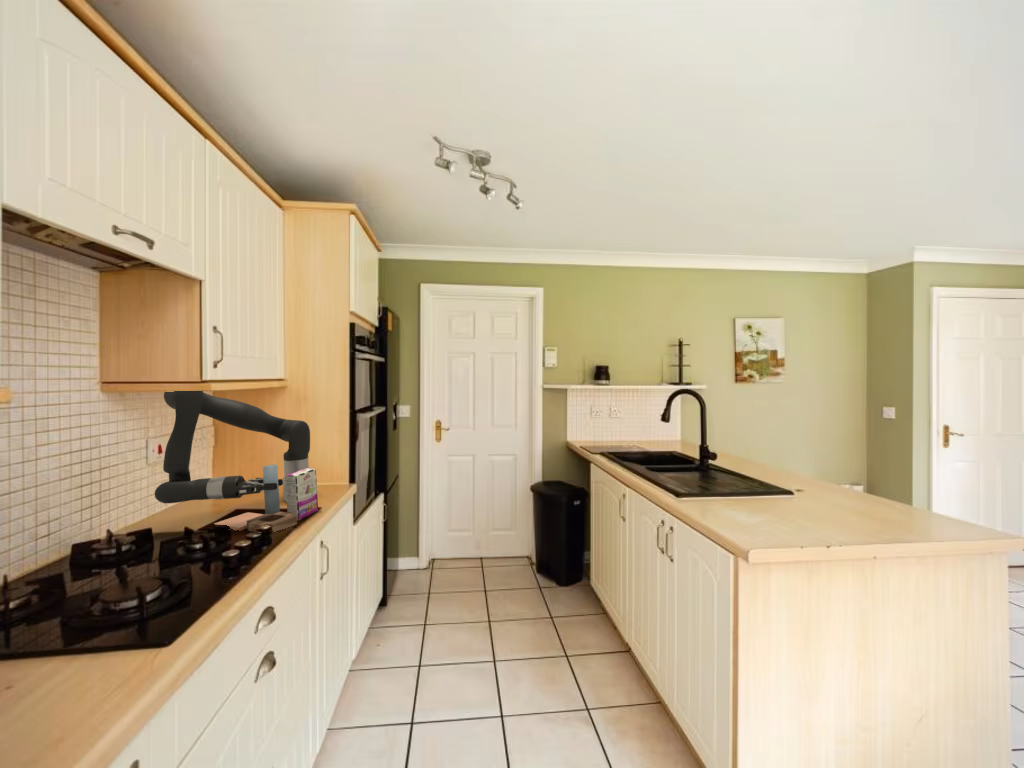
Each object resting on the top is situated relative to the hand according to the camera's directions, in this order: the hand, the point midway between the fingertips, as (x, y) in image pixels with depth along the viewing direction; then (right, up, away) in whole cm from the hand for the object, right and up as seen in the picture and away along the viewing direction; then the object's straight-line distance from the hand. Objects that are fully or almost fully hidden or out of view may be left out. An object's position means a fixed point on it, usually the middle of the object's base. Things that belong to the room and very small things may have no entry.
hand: (279, 484), depth 153 cm
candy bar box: (+3, -14, +11) cm, 18 cm away
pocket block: (-2, -15, 0) cm, 15 cm away
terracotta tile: (-15, -15, +5) cm, 22 cm away
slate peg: (-2, -10, 0) cm, 10 cm away
